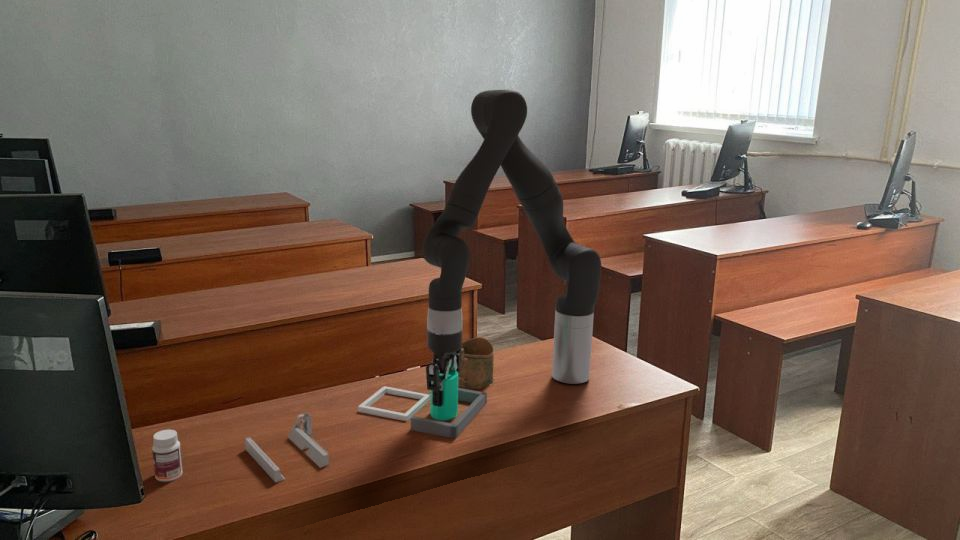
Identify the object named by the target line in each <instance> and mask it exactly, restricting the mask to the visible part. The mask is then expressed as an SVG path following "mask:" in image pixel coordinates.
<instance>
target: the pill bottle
mask: <svg viewBox="0 0 960 540" xmlns="http://www.w3.org/2000/svg"><path fill="white" fill-rule="evenodd" d="M152 437H153V445H152V447H151V451H152V459H153V468H154V469H153V470H154V471H153V472H154V478H155V479H156V480H157V481H159V482H172V481H175V480H177V479H179V478H180V477H182V475H183V473H184V472H183V461H182V450H181V449H182V447H181V441H179V440H178V439H179V438H178V432H177V431H176V430H174V429H162V430H159V431H157V432H156V433H154V435H153V436H152Z"/></svg>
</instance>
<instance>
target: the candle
mask: <svg viewBox="0 0 960 540" xmlns="http://www.w3.org/2000/svg"><path fill="white" fill-rule="evenodd" d="M443 375H444V374H441V373H439V376H443ZM439 381H441V380H440V379H439ZM431 382H432V381H431ZM458 388H459V386H458V373H457V371H455V372H451V371H449V372H448V377H447V380H445V381H444V387H443V405H442V406H441V407H439V406H434V405H433V404H432V395H433V390H430V416H431V418H432V419H434V420H436V421H448V420H453V419H455V418H457V416H458V413H459V412H458V411H459V400H458Z"/></svg>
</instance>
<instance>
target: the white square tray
mask: <svg viewBox="0 0 960 540" xmlns="http://www.w3.org/2000/svg"><path fill="white" fill-rule="evenodd" d="M385 394H389V395H394V396H400V397H406V398H411V399H416V400H418V401H417V402H416V403H415V404H414V405H413V406H411V408H409V409H408V410H407V411H406V412H405V413H404V412H399V411H394V410H388V409H385V408H379V407H374V406H372V405H374V403H376V402H377V401H378V400H380V399H381V398H382V397H383V396H384V395H385ZM429 401H431V394H427V393H421V392H416V391H412V390H407V389H400V388H396V387H391V386H385V385H384V386H382V387H381V388H379V390H377V391H376V392H375V393H373V394H372V395H371V396H369V397H368V398H367V399H366V400H365V401H363V402H362V403H361V404H359V405H358V406H357V412H358V413H361V414H367V415H372V416H378V417H383V418H388V419H394V420H398V421H399V420H400V421H404V422H408V421H409V420H411V418H412V417H413V416H415V414H417V413H418V412H419V411H420V409H422V407H423V406H425V405H426V404H427V403H428V402H429Z"/></svg>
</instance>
